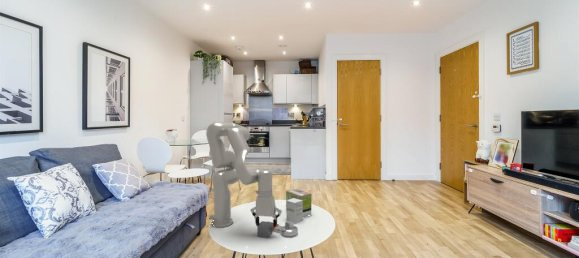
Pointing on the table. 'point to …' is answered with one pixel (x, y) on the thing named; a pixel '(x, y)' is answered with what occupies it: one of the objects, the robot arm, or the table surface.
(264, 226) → the brushed grey cube
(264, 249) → the table surface
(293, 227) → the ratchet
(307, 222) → the table surface
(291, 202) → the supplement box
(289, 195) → the tea box
